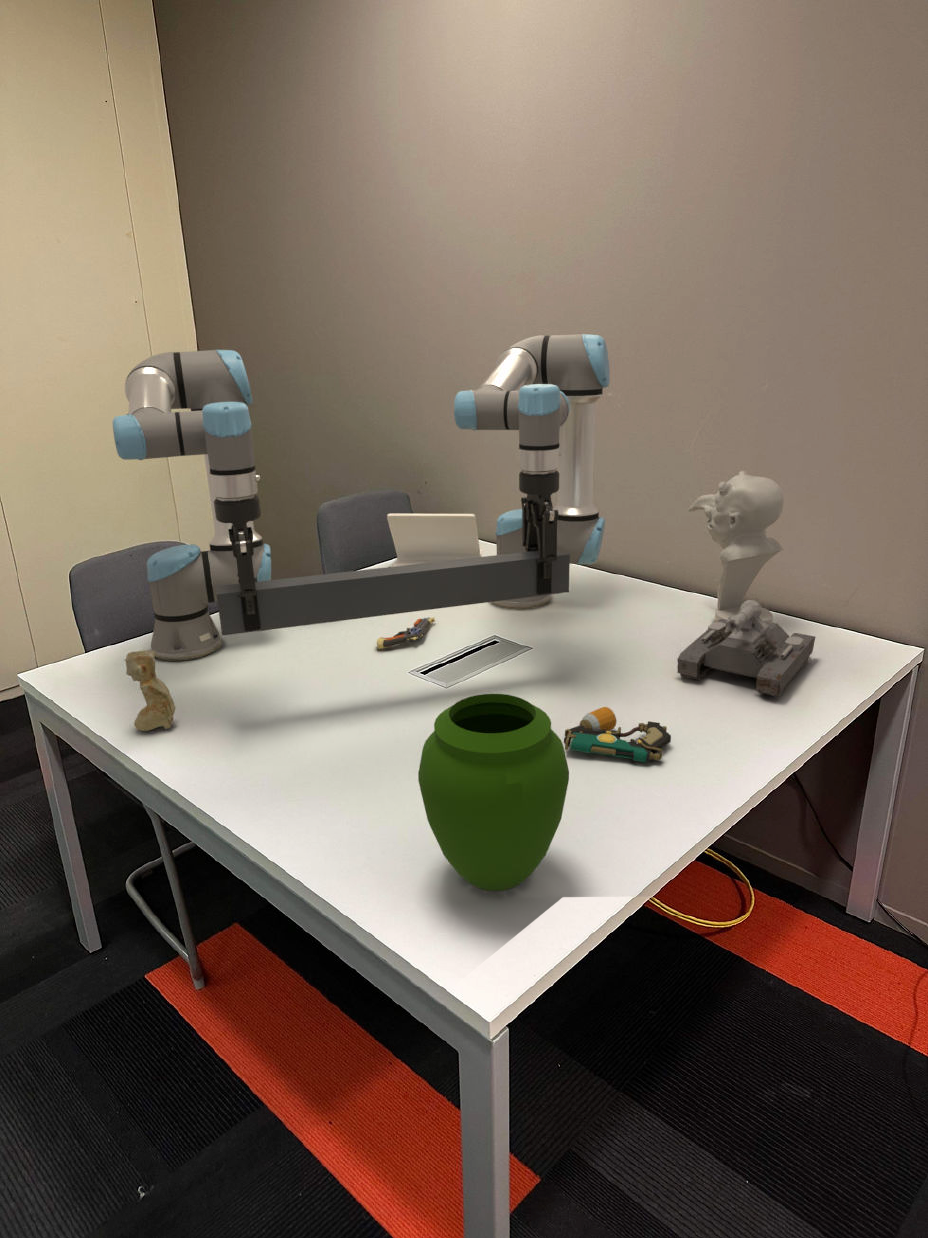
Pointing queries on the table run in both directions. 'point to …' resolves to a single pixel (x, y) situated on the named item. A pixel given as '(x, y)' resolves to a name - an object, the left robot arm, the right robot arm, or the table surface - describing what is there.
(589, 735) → the spray gun
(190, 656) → the left robot arm
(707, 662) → the toy
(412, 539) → the tablet stand
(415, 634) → the toy gun
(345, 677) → the table surface
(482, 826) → the vase
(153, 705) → the sculpture
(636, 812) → the table surface
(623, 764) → the table surface
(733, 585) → the bust sculpture
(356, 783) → the table surface
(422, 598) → the plank
